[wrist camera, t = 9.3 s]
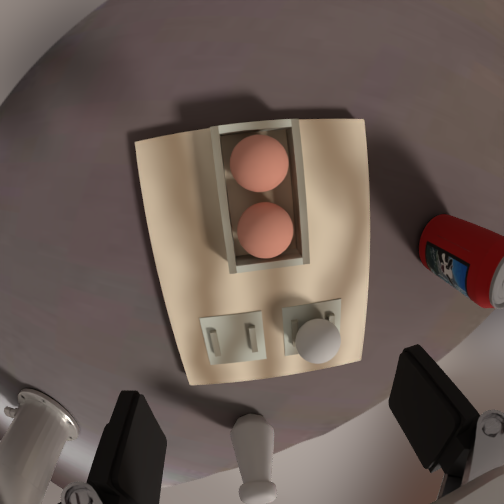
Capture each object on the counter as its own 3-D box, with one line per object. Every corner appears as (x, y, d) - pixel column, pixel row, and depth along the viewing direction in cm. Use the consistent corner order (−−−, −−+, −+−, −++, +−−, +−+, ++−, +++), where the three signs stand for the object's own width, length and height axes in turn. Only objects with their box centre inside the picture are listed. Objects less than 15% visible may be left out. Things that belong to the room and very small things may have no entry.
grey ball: (292, 349, 29) (300, 376, 25) (290, 314, 28) (300, 339, 24) (332, 342, 29) (345, 367, 25) (333, 307, 28) (348, 330, 24)
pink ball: (233, 191, 24) (233, 199, 20) (227, 139, 22) (225, 135, 18) (285, 186, 24) (296, 192, 20) (280, 134, 23) (290, 129, 18)
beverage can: (405, 257, 29) (476, 307, 17) (430, 202, 27) (511, 230, 15) (440, 275, 30) (504, 322, 18) (463, 226, 28) (534, 259, 17)
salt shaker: (221, 418, 34) (222, 500, 22) (258, 404, 34) (268, 489, 21) (244, 437, 36) (250, 511, 24) (279, 424, 35) (293, 501, 23)
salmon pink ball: (234, 201, 24) (233, 211, 20) (286, 196, 24) (296, 204, 20) (240, 251, 26) (240, 270, 21) (290, 245, 26) (300, 262, 21)
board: (191, 376, 32) (187, 400, 28) (140, 142, 23) (124, 140, 19) (356, 352, 32) (368, 373, 28) (357, 120, 24) (376, 116, 20)
